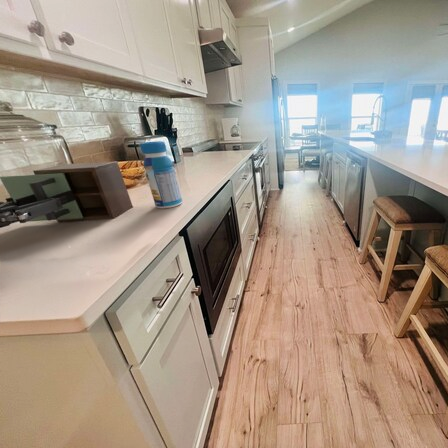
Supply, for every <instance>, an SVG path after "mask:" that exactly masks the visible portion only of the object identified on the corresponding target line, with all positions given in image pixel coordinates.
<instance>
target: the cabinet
mask: <svg viewBox="0 0 448 448" xmlns="http://www.w3.org/2000/svg"><path fill="white" fill-rule="evenodd" d="M32 172H33V175H39V174H57V173H64V175H65V178H66V180H67V182H68V184H69V187H70V189H71V191H72V193H73V195H74V198H75V200H76V203H77V205H78V207H79V209H80V212H81V214H82V216H83V218H79V219H63V220H56V221H57V222H58V223H65V222H77V221H78V222H79V221H94V220H110V219H111V220H112V219H115V218H118V217H119V216H120V215H122V214H124V213H125V212H128V211H130V209H132V208H134V205H133V203H132V199H131V198H130V197H131V196H130V194H129V192H128V191H129V190H128V189H127V185H126V182H125V180H124V177H123V174H122V171H121V168H120V165H119V163H118V161H99V162H81V163H64V164H60V165H53V166H49V167H44V168H39V169H34V170H32Z"/></svg>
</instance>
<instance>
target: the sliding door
mask: <svg viewBox="0 0 448 448" xmlns="http://www.w3.org/2000/svg"><path fill="white" fill-rule="evenodd" d="M0 181H1V182H2V185H3V186H4V189H5V190H6V191H7V194H8V195H9V198H13V200H14V202H15V201H16V199H19V198H22V197H26V196H29V195H32V194H34V195H35V197H36V199H37V201H42V200H46V199H48V197H51V196H54V195H57V194H60V193H63V192H66V191H71V189H70V187H69V184H68V182H67V180H66V178H65V175H64V173H57V174H39V175H35V174H25V175H24V174H22V175H5V176H3V175H2V176H0ZM62 206H63V208H62V209H59V211H53V212H51V213H48V214H45V215H42V216H40V217H37V218H34V219H32V220H30V221H28V222H27V223H29V222H30V223H31V222H44V221H45V222H46V221H48V222H49V221H50V222H51V221H57V220H63V219H79V218H83V216H82V214H81V212H80V209H79V207H78V205H77V203H76V200H74V201H71V202H69V203H66V204H64V205H62Z"/></svg>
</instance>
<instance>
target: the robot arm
mask: <svg viewBox="0 0 448 448" xmlns="http://www.w3.org/2000/svg"><path fill="white" fill-rule="evenodd" d="M74 200H75V198H74V195H73V193H72V191H66V192H63V193H60V194H57V195H54V196H51V197H48V199H46V200H42V201H37V199H36V197H35V195H34V194H32V195H29V196H26V197H22V198H19V199H16V201H15V202H14V200H13V198H11V197H6V198H5V202H4V201H0V229H2V228H5V227H9V226H10V225H11V224H15V223H18V222H19V224H27V223H29V222H28V221H30V220H32V219H34V218H37V217H40V216H42V215H45V214H48V213H51V212H53V211H59V209H62V208H63V206H62V205H64V204H66V203H69V202H71V201H74Z"/></svg>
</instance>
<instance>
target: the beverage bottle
mask: <svg viewBox="0 0 448 448" xmlns="http://www.w3.org/2000/svg"><path fill="white" fill-rule="evenodd" d="M139 147H140V151H141V154H142V155H143V156H145V157H144V159H143V165H142V167H143V169H144V170H145V174H144V175H145V178H146V179H147V183H148V187H149V189H150V193H151V195H152V199H153V202H154V206H155V207H156V208H157V209H170V208H175V207H178V206H180V205H181V204H182V203H183V198H182V196H181V190H180V187H179V183H178V179H177V172H176V170H175V169H174V167H173V166H174V162H173V160H172V159H171V158H170V157H169V156H168V155H167V154H166V153H168V151H167V150H168V149H167V145H166V143H165V141H161V140H158V141H157V140H156V141H147V142H140V143H139Z"/></svg>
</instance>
